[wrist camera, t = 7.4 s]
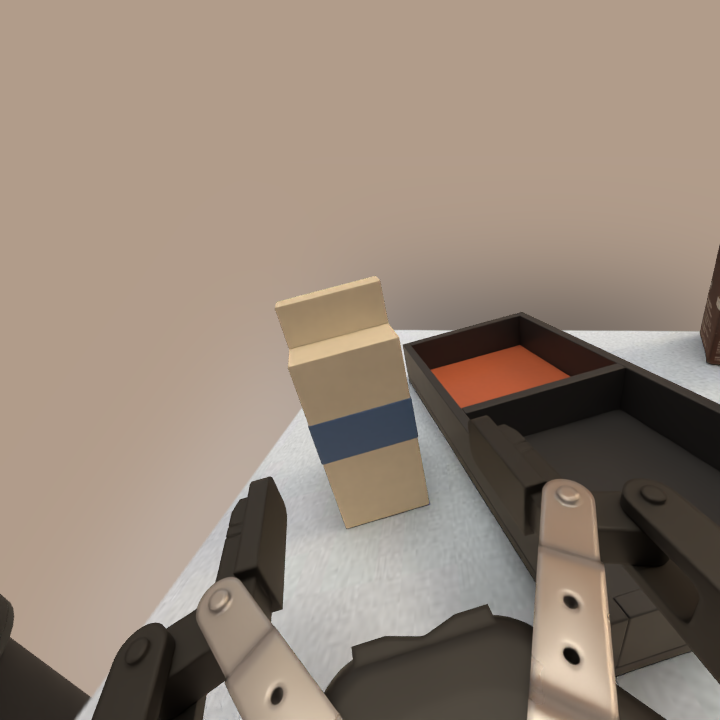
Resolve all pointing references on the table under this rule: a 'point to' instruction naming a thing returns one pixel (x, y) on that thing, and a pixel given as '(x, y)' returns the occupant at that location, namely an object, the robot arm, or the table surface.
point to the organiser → (576, 438)
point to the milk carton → (355, 398)
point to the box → (712, 318)
